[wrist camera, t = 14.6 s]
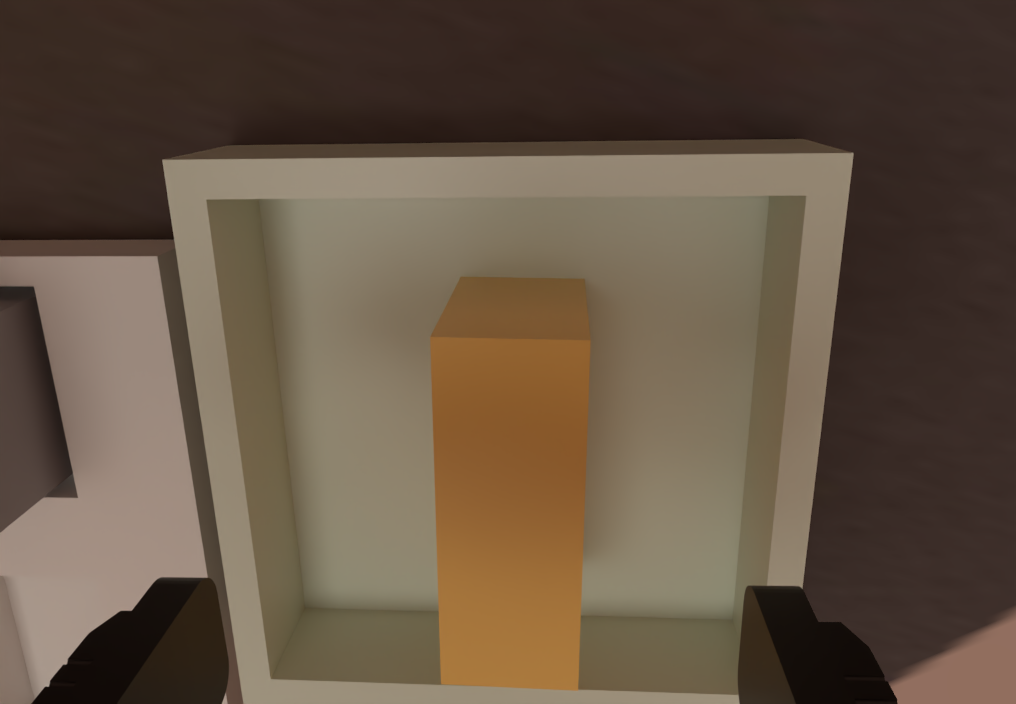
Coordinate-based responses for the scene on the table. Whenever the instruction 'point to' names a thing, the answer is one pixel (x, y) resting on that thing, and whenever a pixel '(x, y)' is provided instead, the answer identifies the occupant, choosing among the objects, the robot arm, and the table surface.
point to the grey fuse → (27, 409)
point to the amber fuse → (511, 479)
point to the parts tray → (408, 392)
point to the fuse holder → (107, 456)
